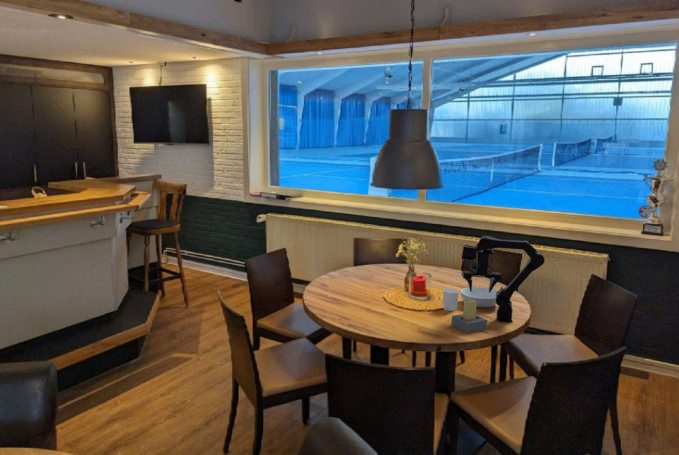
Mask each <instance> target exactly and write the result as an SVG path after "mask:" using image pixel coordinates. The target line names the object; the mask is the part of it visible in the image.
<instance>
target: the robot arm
mask: <svg viewBox="0 0 679 455" xmlns="http://www.w3.org/2000/svg"><path fill="white" fill-rule="evenodd" d="M493 249H507V250H508V249H510V250H522V251H524V252H525V254H526V255H527V256H528V257H529V258H528V260H527V262H526V264H525V266H524V267H523V268H522V269H521V270H520V271H519V272H518V273H517V275H516V276H515V277H514V278H513V279H512V280H511V281H510V282H509V283H508V285H507V286H505V287H502V286H501V287H500V288H499V289H498V290H497V291H498V292H496V304H495V305H497V306H498V307H497V309H496V319H497V320H498V322H499V323H514V322H513V321H514V320H513V310H514V309H513V304H512V301H511V298H512V296H513V294H514V293H515V292H516V291H517V290H518V289H519V287H520V286H521V285H522V284H523V282H525V281H526V279H527V278H528V277H529V276H530V275H531V274H532V272H535V271H536V270H537V269H539V268H540V267H541V266H543V265H544V264H545V256H544V255H543V253H542V252H541V251H538V250H537V249H536V248H535V247H534V246H532V244H531V243H530V242H529V241H528V240H517V239H515V240H513V239H501V238H500V239H499V238H496V237H493V236H489V235H482V236H481V237H480V238H479V240H478V243H476V244H475V246H467V245H463V248H462V253H461V260H464V261H472V262H470V265H469V269H470V270H473V272H472V271H470V270H462V271H461V277H462V279H464V280H465V281H467V283H468V287H469V289H470V292H471V291H472V287H473V279H472V278H488V279H490V281H489V286H488V288H489V293H490V292H491V290H492V289H493V290H494V287H495V285H496V284H497V283H500V282H502V280H503V275H502V274H501V272H500V271H492V272H491V273H489V269H490V258H491V257H490V256H491V255H494V254H495V252H494V250H493ZM474 260H476V264H475V263H474Z"/></svg>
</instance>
